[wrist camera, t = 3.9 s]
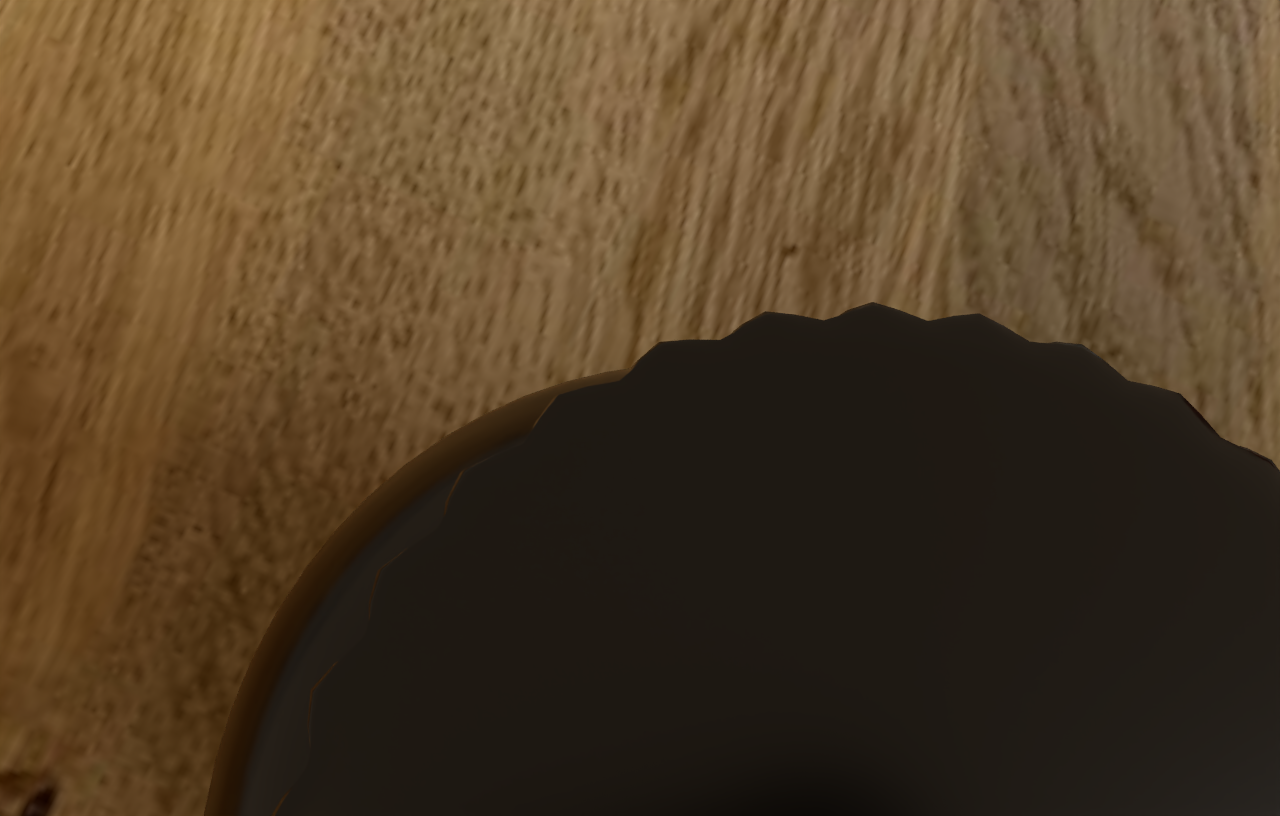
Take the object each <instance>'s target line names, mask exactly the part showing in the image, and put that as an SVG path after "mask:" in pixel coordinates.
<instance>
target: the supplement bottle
mask: <svg viewBox="0 0 1280 816" xmlns="http://www.w3.org/2000/svg"><path fill="white" fill-rule="evenodd" d="M204 816H1280V471H1279V470H1278V468H1277V467H1276V466H1275V464H1274V463H1273V462H1272V460H1270V459H1268V458H1266V457H1264V456H1262V455H1260V454H1258V453H1256V452H1254V451H1252V450H1250V449H1248V448H1245V447H1241V446H1237V445H1235V444H1233V443H1231V442H1229V441H1227V440H1225V439H1223V438H1221V437H1220V436H1219V435H1218V434H1217V433H1216V432H1215V430H1214V429H1213V428H1212V427H1211V426H1210V425H1209V423H1208V422H1207V421H1206V420H1205V419H1204V418H1203V416H1202V415H1201V414H1200V413H1199V412H1198V411H1197V410H1196V409H1195V408H1194V407H1193V406H1192V405H1191V404H1190V403H1189V402H1188V401H1187V400H1186V399H1185V398H1184V397H1183V396H1182V395H1181V394H1179V393H1176V392H1173V391H1169V390H1166V389H1162V388H1159V387H1156V386H1151V385H1146V384H1141V383H1136V382H1131V381H1128V380H1126V379H1125V378H1124V377H1123V376H1122V375H1121V374H1119V373H1118V372H1117V371H1116V370H1115V369H1114V368H1112V367H1111V366H1110V365H1109V364H1108V363H1106V362H1105V361H1104V360H1103V359H1101V358H1100V357H1099V356H1097V355H1096V354H1094V353H1093V352H1092V351H1090V350H1089V349H1088V348H1086V347H1085V346H1084V345H1082V344H1072V343H1062V342H1053V343H1037V342H1029V341H1028V340H1026V339H1024V338H1023V337H1021V336H1019V335H1018V334H1016V333H1014V332H1013V331H1011V330H1010V329H1008V328H1006V327H1005V326H1003V325H1001V324H999V323H997V322H995V321H993V320H991V319H989V318H987V317H985V316H983V315H981V314H970V315H960V316H952V317H947V318H942V319H937V320H932V321H926V320H923V319H921V318H918V317H916V316H913V315H910V314H908V313H905V312H903V311H900V310H897V309H894V308H890V307H887V306H884V305H881V304H877V303H874V302H871V303H868V304H865V305H862V306H859V307H856V308H853V309H850V310H847V311H845V312H844V313H842V314H841V315H839V316H837V317H834V318H831V319H827V320H819V319H814V318H809V317H804V316H799V315H793V314H784V313H775V312H763V313H762V314H760V315H758V316H756V317H754V318H753V319H751V320H749V321H747V322H745V323H744V324H742V325H741V326H739V327H738V328H737V329H736V330H734V331H733V332H732V333H731V335H729V336H727V337H725V338H723V339H721V340H678V341H666V342H659V343H657V344H656V345H655V346H653V347H652V348H651V349H650V350H649V351H648V352H647V353H646V354H645V355H643V356H642V357H641V358H640V359H639V360H638V361H637V362H636V363H634V364H633V365H632V367H631V368H630V369H623V370H616V371H609V372H604V373H600V374H596V375H592V376H588V377H583V378H579V379H575V380H571V381H567V382H564V383H561V384H558V385H555V386H552V387H549V388H546V389H543V390H540V391H537V392H535V393H532V394H529V395H526V396H523V397H521V398H519V399H517V400H514V401H512V402H510V403H508V404H506V405H503V406H501V407H499V408H497V409H495V410H492V411H490V412H488V413H486V414H484V415H482V416H480V417H478V418H477V419H475V420H473V421H471V422H470V423H468V424H466V425H465V426H463V427H461V428H459V429H458V430H456V431H454V432H452V433H451V434H449V435H447V436H445V437H444V438H442V439H441V440H440V441H438V442H437V443H435V444H434V445H432V446H431V447H430V448H428V449H427V450H425V451H424V452H423V453H421V454H420V455H418V456H417V457H415V458H414V459H413V460H411V461H410V462H408V463H407V464H406V465H404V466H403V467H402V468H401V469H400V470H399V471H397V472H396V473H395V474H394V475H393V476H392V477H390V478H389V479H388V480H387V481H386V482H385V483H383V484H382V485H381V486H380V487H379V488H378V489H376V490H375V491H374V492H373V493H372V494H371V495H370V496H368V497H367V499H366V500H365V501H364V502H363V503H362V504H361V505H360V506H359V507H358V508H357V509H356V510H355V511H354V512H353V513H352V514H351V515H350V516H349V517H348V518H347V519H346V520H345V521H344V522H343V523H342V525H341V526H340V527H339V528H338V529H337V530H336V531H335V532H334V533H333V535H332V536H331V537H330V538H329V540H328V541H327V542H326V543H325V545H324V546H323V547H322V548H321V550H320V551H319V552H318V553H317V555H316V556H315V557H314V558H313V560H312V561H311V562H310V563H309V565H308V566H307V567H306V568H305V570H304V571H303V573H302V574H301V576H300V577H299V579H298V580H297V582H296V583H295V585H294V586H293V588H292V589H291V591H290V592H289V594H288V596H287V597H286V599H285V600H284V602H283V603H282V605H281V606H280V608H279V609H278V611H277V612H276V614H275V616H274V618H273V620H272V622H271V624H270V626H269V627H268V629H267V631H266V633H265V635H264V637H263V639H262V641H261V643H260V644H259V646H258V648H257V650H256V652H255V654H254V656H253V658H252V660H251V662H250V665H249V667H248V670H247V672H246V674H245V677H244V679H243V682H242V684H241V686H240V689H239V691H238V694H237V696H236V698H235V701H234V703H233V706H232V708H231V711H230V715H229V718H228V721H227V724H226V727H225V731H224V734H223V737H222V740H221V743H220V747H219V750H218V753H217V756H216V759H215V764H214V769H213V774H212V778H211V783H210V788H209V792H208V797H207V802H206V807H205V811H204Z"/></svg>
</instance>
